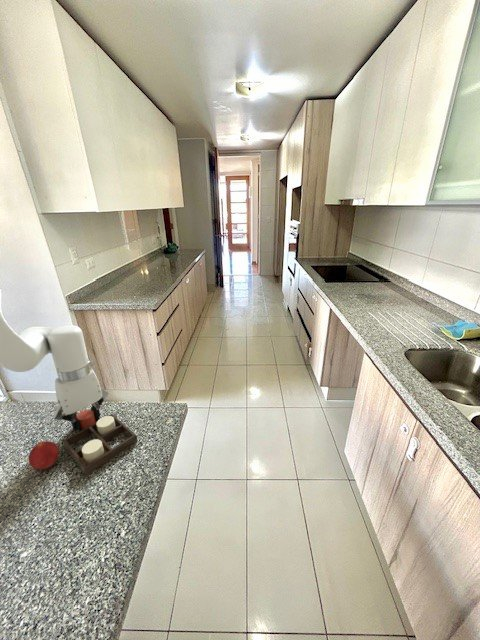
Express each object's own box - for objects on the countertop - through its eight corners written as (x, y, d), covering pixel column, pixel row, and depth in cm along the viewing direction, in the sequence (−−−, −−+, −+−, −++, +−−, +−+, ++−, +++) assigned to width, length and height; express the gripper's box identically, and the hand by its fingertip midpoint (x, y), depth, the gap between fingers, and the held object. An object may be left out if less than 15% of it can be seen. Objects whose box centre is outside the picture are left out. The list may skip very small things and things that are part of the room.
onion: (28, 480, 60) (18, 454, 57) (39, 459, 65) (30, 435, 62) (57, 474, 62) (48, 448, 59) (65, 454, 67) (58, 430, 64)
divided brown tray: (65, 449, 68) (62, 440, 67) (113, 422, 78) (112, 413, 77) (87, 478, 61) (84, 468, 60) (137, 443, 70) (136, 435, 69)
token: (96, 433, 73) (93, 422, 71) (111, 424, 76) (109, 413, 74) (103, 441, 70) (101, 429, 69) (119, 431, 73) (117, 420, 72)
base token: (81, 459, 64) (78, 447, 63) (99, 448, 68) (97, 436, 66) (89, 469, 62) (86, 457, 60) (108, 457, 65) (105, 445, 64)
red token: (76, 426, 76) (73, 415, 74) (92, 418, 79) (89, 407, 78) (83, 433, 73) (80, 422, 72) (99, 424, 77) (96, 413, 75)
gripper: (99, 355, 78) (109, 404, 84) (31, 379, 66) (49, 435, 72) (112, 363, 74) (121, 414, 80) (42, 391, 61) (60, 449, 68)
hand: (87, 424), depth 76 cm, fingers closed on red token, 4 cm apart
